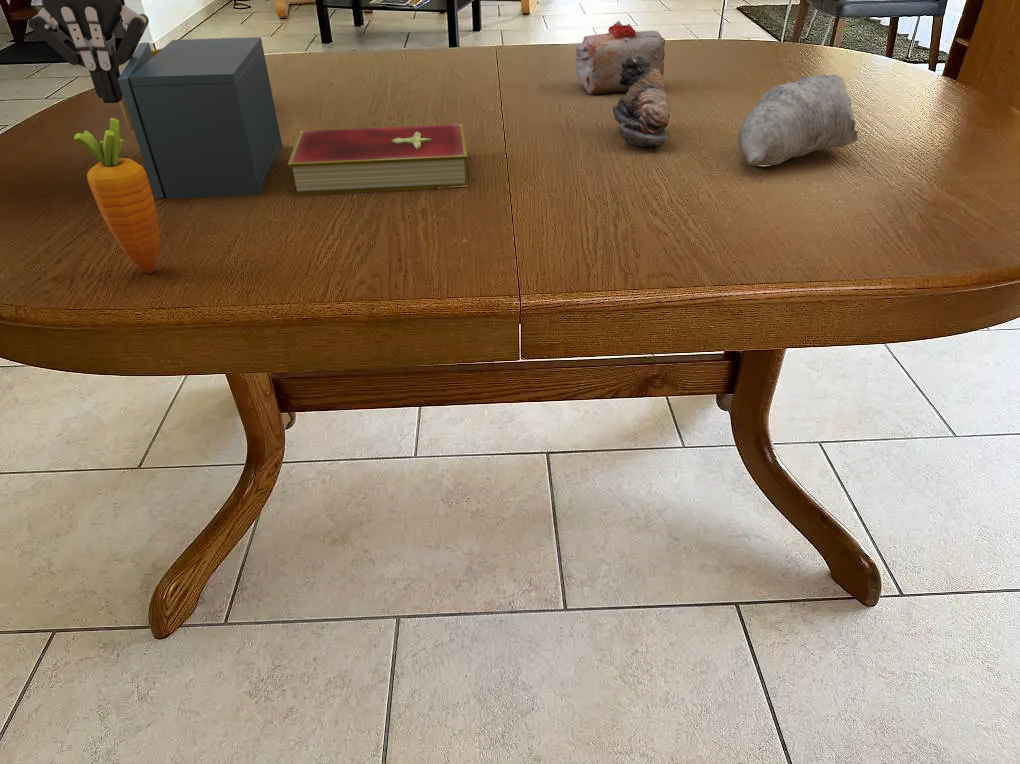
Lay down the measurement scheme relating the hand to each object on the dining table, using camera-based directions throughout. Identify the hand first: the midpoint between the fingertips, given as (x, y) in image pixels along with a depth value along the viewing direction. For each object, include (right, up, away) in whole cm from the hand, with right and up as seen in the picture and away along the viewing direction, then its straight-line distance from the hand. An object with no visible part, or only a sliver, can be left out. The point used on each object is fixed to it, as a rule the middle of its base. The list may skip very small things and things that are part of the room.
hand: (113, 101), depth 89 cm
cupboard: (+12, -7, +6) cm, 15 cm away
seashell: (+85, -5, +8) cm, 85 cm away
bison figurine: (+66, 0, +15) cm, 67 cm away
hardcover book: (+32, -7, +5) cm, 33 cm away
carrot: (+12, -23, -15) cm, 30 cm away
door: (+2, -7, +5) cm, 9 cm away
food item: (+66, +15, +34) cm, 75 cm away
